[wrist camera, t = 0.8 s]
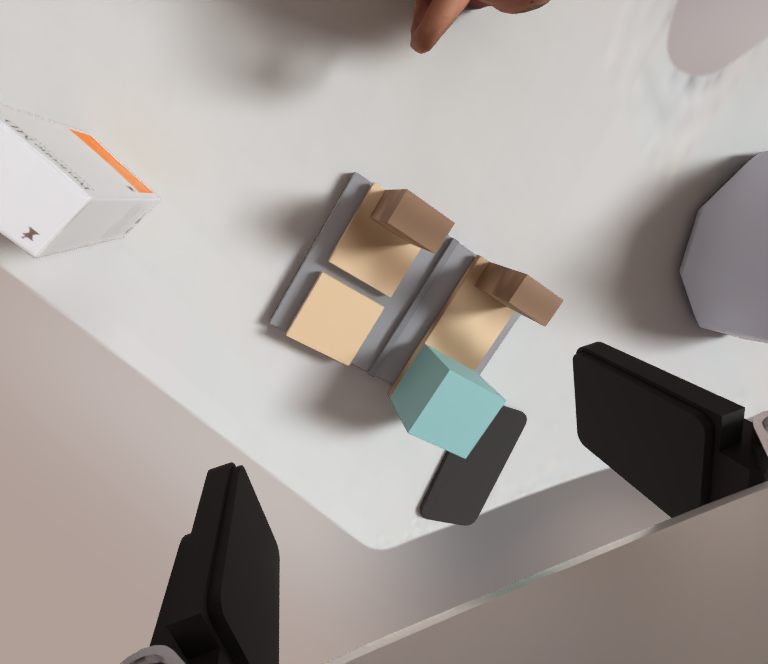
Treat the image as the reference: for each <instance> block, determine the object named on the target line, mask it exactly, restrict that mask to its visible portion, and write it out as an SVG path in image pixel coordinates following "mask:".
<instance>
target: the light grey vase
mask: <svg viewBox="0 0 768 664" xmlns="http://www.w3.org/2000/svg"><path fill="white" fill-rule="evenodd" d="M679 272H680V275H681V278H682V281H683V284H684V287H685V290H686V293H687V296H688V299H689V302H690V305H691V308H692V311H693V313H694V316H695V318H696V320H697V322H698V324H699V326H700V327H701V328H705V329H709V330H712V331H716V332H720V333H723V334H727V335H731V336H735V337H738V338H742V339H747V340H753V341H759V342H765V343H768V152H759V153H758V154H757V155H756V156H754V157H753V158H752V159H751V160H749V161H748V162H747V163H746V164H745V165H744V166H743V167H742V168H740V169H739V170H738V171H737V172H736V173H735V174H734V175H733V176H732V177H731V178H730V179H729V180H728V181H727V182H726V183H725V184H724V185H723V186H722V187H721V188H720V189H719V190H718V191H717V192H716V193H715V194H714V195H713V196H712V197H711V198H710V199H709V200H708V201H707V202H706V203H705V204H704V205H703V206H702V207H701V208H700V209H699V210H698V212H697V215H696V219H695V222H694V225H693V228H692V231H691V235H690V238H689V241H688V244H687V247H686V251H685V254H684V257H683V260H682V263H681V267H680V270H679Z"/></svg>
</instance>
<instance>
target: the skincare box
mask: <svg viewBox="0 0 768 664" xmlns="http://www.w3.org/2000/svg"><path fill="white" fill-rule="evenodd" d="M159 201H160V197H159V196H158V195H156V194H155V193H154V192H153V191H152V190H151V189H149V188H148V187H147V186H146V185H145V184H144V183H143V182H142V181H140V180H139V179H138V178H137V177H136V176H135V175H134V174H133V173H131V172H130V171H129V170H128V169H127V168H126V167H125V166H124V165H123V164H122V163H120V162H119V161H118V160H117V159H116V158H115V157H114V156H113V155H112V154H111V153H110V152H109V151H108V150H107V149H106V148H105V147H104V146H102V145H101V144H100V143H99V142H98V141H97V140H96V139H95V138H94V137H93V136H92V135H91V134H89V133H86V132H83V131H80V130H78V129H75V128H72V127H69V126H66V125H63V124H60V123H57V122H54V121H51V120H48V119H45V118H42V117H39V116H36V115H33V114H30V113H27V112H24V111H21V110H18V109H15V108H12V107H9V106H6V105H3V104H0V233H1V234H2V235H4V236H5V237H7V238H8V239H9V240H11V241H12V242H13V243H15V244H16V245H17V246H19V247H20V248H21V249H23V250H24V251H25V252H27V253H28V254H29V255H31V256H32V257H34V258H40V257H44V256H48V255H52V254H56V253H60V252H65V251H69V250H73V249H77V248H81V247H86V246H90V245H94V244H98V243H102V242H106V241H110V240H114V239H119V238H123V237H124V236H125V235H126V234H127V233H128V232H129V231H130V230H131V229H132V228H133V227H134V226H135V225H136V224H137V223H138V222H139V221H140V220H141V219H142V218H143V217H144V216H145V215H146V214H147V213H148V212H149V211H150V210H151V209H152V208H153V207H154V206H155V205H156V204H157V203H158V202H159Z"/></svg>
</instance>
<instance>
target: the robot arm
mask: <svg viewBox="0 0 768 664" xmlns="http://www.w3.org/2000/svg"><path fill="white" fill-rule="evenodd" d="M573 371H574V387H575V402H576V418H577V433H578V437H579V439H580V441H581V443H582V444H583V445H584V446H585V447H586V448H587V449H589V450H590V451H591V452H592V453H593V454H595V455H596V456H597V457H598V458H600V459H601V460H602V461H603V462H604V463H606V464H607V465H608V466H609V467H610V468H612V469H613V470H614V471H615V472H617V473H618V474H619V475H620V476H622V477H623V478H624V479H625V480H626V481H628V482H629V483H630V484H631V485H632V486H634V487H635V488H636V489H637V490H638V491H640V492H641V493H642V494H643V495H644V496H646V497H647V498H648V499H649V500H651V501H652V502H653V503H654V504H656V505H657V506H658V507H659V508H660V509H662V510H663V511H664V512H665V513H666V514H668V515H669V516H670V517H671V519H669V520H666V521H664V522H662V523H659V524H657V525H654V526H651V527H649V528H646V529H644V530H642V531H639V532H637V533H634V534H632V535H629V536H627V537H624V538H622V539H620V540H617V541H614V542H612V543H609V544H607V545H605V546H602V547H600V548H597V549H595V550H592V551H590V552H587V553H585V554H583V555H580V556H578V557H575V558H573V559H570V560H568V561H566V562H563V563H561V564H558V565H556V566H553V567H551V568H548V569H546V570H544V571H541V572H539V573H536V574H534V575H531V576H529V577H527V578H524V579H522V580H519V581H517V582H514V583H512V584H510V585H507V586H505V587H502V588H500V589H497V590H495V591H493V592H490V593H488V594H486V595H483V596H481V597H478V598H476V599H473V600H471V601H469V602H467V603H464V604H462V605H459V606H457V607H454V608H452V609H450V610H447V611H445V612H442V613H440V614H438V615H435V616H433V617H430V618H428V619H426V620H423V621H421V622H419V623H416V624H414V625H412V626H409V627H407V628H404V629H402V630H400V631H397V632H395V633H392V634H390V635H387V636H385V637H383V638H380V639H378V640H376V641H373V642H371V643H369V644H367V645H364V646H362V647H360V648H357V649H355V650H353V651H351V652H349V653H346V654H344V655H342V656H339V657H337V658H335V659H332V660H330V661H328V662H326V663H323V664H768V411H764V412H762V413H760V414H758V415H756V416H755V418H754V419H753V422H750V421H748V420H746V419H744V412H745V407H743V406H740V405H738V404H736V403H734V402H732V401H729V400H727V399H725V398H723V397H721V396H718V395H716V394H714V393H712V392H710V391H707V390H705V389H703V388H701V387H699V386H697V385H694V384H692V383H690V382H688V381H686V380H683V379H681V378H679V377H677V376H675V375H672V374H670V373H668V372H666V371H664V370H661V369H659V368H657V367H655V366H653V365H650V364H648V363H646V362H644V361H642V360H639V359H637V358H635V357H633V356H631V355H628V354H626V353H624V352H622V351H620V350H617V349H615V348H613V347H611V346H609V345H607V344H604V343H602V342H595V343H592V344H589V345H586V346H583V347H580V348H579V349H578V350H577V352H576V354H575V355H574V357H573ZM279 561H280V559H279V550H278V546H277V543H276V540H275V538H274V536H273V533H272V531H271V529H270V526H269V524H268V522H267V519H266V517H265V515H264V513H263V510H262V508H261V506H260V503H259V501H258V498H257V496H256V494H255V491H254V489H253V487H252V485H251V482H250V480H249V477H248V475H247V473H246V470H245V469H244V467H243V466H242V465H241V466H237V467H236V466H235V464H234V463H228V464H225V465H222V466H219V467H216V468H213V469H210V470H209V471H208V473H207V476H206V480H205V484H204V487H203V491H202V495H201V498H200V502H199V506H198V509H197V513H196V517H195V521H194V524H193V528H192V532H191V533H190V534H187V535H185V536H184V537H183V538H182V540H181V543H180V545H179V548H178V552H177V555H176V559H175V562H174V566H173V569H172V572H171V576H170V579H169V582H168V586H167V589H166V593H165V596H164V599H163V603H162V606H161V610H160V613H159V617H158V620H157V624H156V627H155V630H154V634H153V637H152V640H151V644H150V647H147V648H144V649H141V650H140V651H138V652H136V653H134V654H132V655H131V656H129V657H127V658H126V659H125V660H124V661H123V662H121V663H120V664H279Z"/></svg>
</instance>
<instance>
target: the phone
mask: <svg viewBox="0 0 768 664" xmlns="http://www.w3.org/2000/svg"><path fill="white" fill-rule="evenodd" d="M526 421H527V417H526V415H525V414H524V413H523V412H521V411H519V410H515V409H512V408H509V407H506V406H502V408H501V409H500V410H499V412H498V413H497V415H496V416H495V418H494V419H493V420H492V422H491V423H490V425H489V426H488V428H487V429H486V430H485V432H484V433H483V435H482V436H481V438H480V439H479V440H478V442H477V443H476V445H475V446H474V448H473V449H472V450H471V452H470V453H469V455H468V456H467V458H466V459H465V458H462V457H460V456H458V455H456V454H453V453H451V452H449V451H447V452H446V454H445V456H444V458H443V460H442V463H441V465H440V467H439V469H438V471H437V473H436V474H435V476H434V478H433V481H432V483H431V485H430V487H429V489H428V491H427V493H426V495H425V497H424V499H423V502H422V504H421V506H420V512H421V515H422V516H423V517H424V518H426V519H430V520H435V521H441V522H446V523H452V524H458V525H470V524H472V523H474V522H475V520H476V519H477V518H478V516H479V514H480V512H481V510H482V508H483V506H484V504H485V502H486V500H487V498H488V496H489V494H490V492H491V491H492V489H493V487H494V485H495V483H496V481H497V479H498V477H499V475H500V473H501V471H502V469H503V467H504V465H505V463H506V461H507V460H508V458H509V456H510V454H511V452H512V450H513V448H514V446H515V444H516V442H517V440H518V438H519V436H520V434H521V432H522V430H523V428H524V426H525V424H526Z"/></svg>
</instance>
